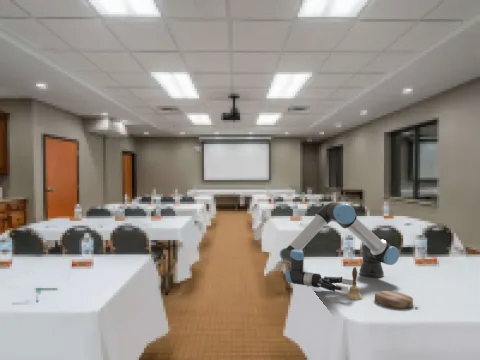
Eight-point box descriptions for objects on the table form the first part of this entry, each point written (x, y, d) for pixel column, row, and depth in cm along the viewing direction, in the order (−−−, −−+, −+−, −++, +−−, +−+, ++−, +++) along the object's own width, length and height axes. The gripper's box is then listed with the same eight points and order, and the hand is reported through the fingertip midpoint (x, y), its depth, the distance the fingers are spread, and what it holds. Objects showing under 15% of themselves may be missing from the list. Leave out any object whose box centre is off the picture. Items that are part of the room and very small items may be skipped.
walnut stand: (390, 294, 193) (390, 289, 193) (420, 305, 177) (420, 299, 177) (367, 299, 184) (367, 294, 184) (397, 311, 168) (397, 305, 168)
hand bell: (343, 294, 191) (344, 265, 191) (358, 294, 192) (359, 265, 192) (349, 300, 183) (350, 269, 183) (365, 299, 184) (365, 269, 184)
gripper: (319, 281, 210) (356, 287, 199) (305, 292, 188) (345, 299, 177) (319, 268, 210) (356, 273, 199) (305, 278, 188) (345, 284, 177)
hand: (351, 286), depth 188 cm, fingers open, 13 cm apart
